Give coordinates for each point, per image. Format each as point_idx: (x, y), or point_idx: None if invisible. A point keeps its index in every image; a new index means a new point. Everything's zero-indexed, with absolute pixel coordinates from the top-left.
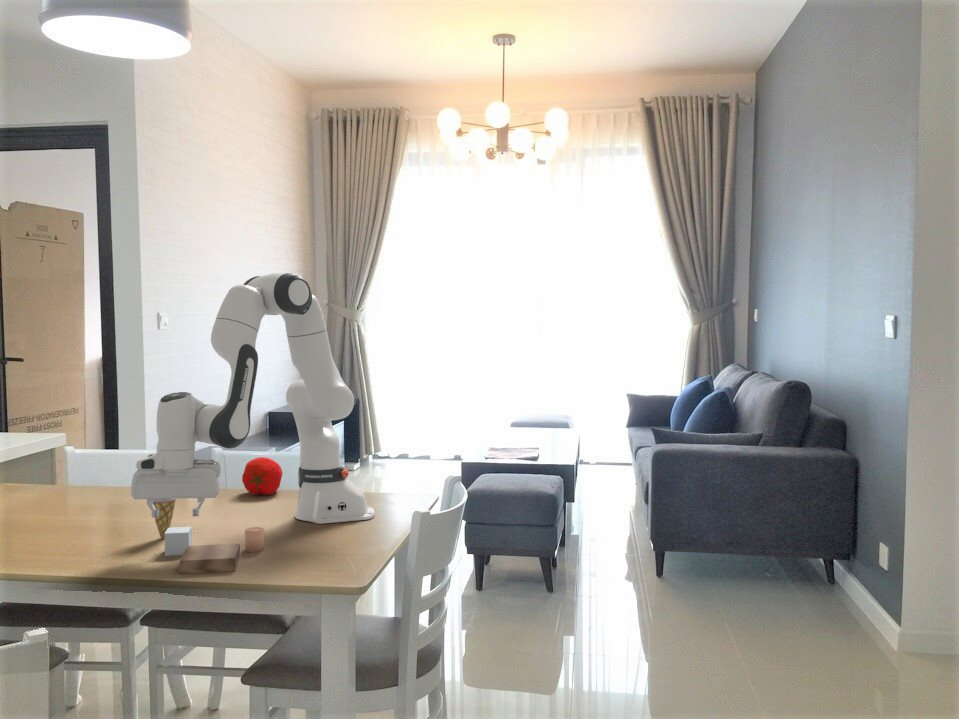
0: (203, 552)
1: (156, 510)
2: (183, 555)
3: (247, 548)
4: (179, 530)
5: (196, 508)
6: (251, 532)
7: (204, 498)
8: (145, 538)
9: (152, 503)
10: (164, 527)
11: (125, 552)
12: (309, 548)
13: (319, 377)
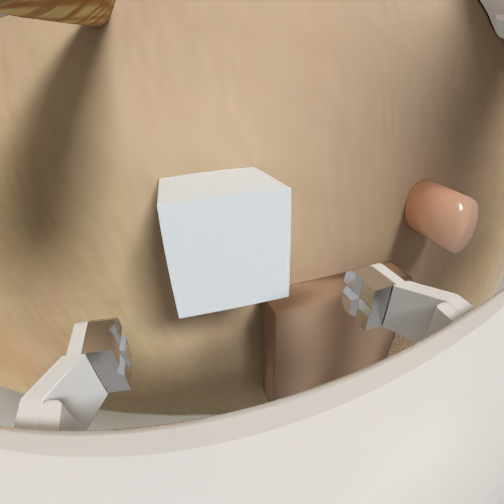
0: (325, 361)
1: (121, 389)
2: (277, 387)
3: (414, 228)
4: (240, 267)
5: (387, 301)
6: (453, 252)
7: (467, 305)
8: (29, 31)
9: (56, 394)
10: (93, 18)
11: (18, 228)
12: (483, 209)
13: None
